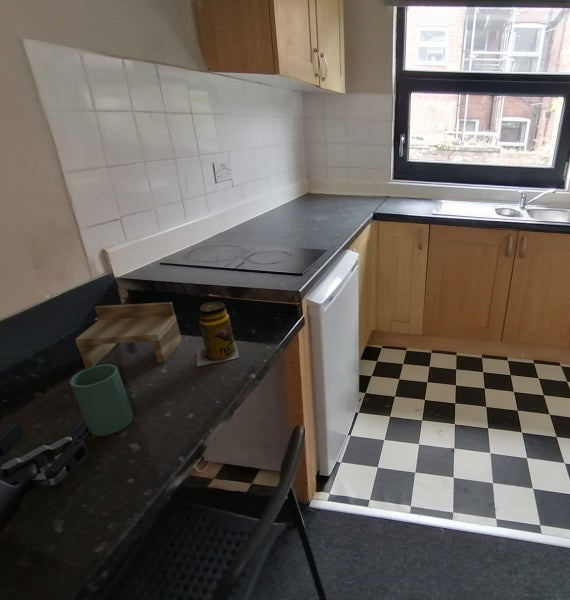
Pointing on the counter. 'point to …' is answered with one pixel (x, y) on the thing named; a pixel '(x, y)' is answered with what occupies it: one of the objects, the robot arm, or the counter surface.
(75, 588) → the counter surface
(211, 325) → the condiment
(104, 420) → the cup
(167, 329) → the shelf
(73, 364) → the counter surface
